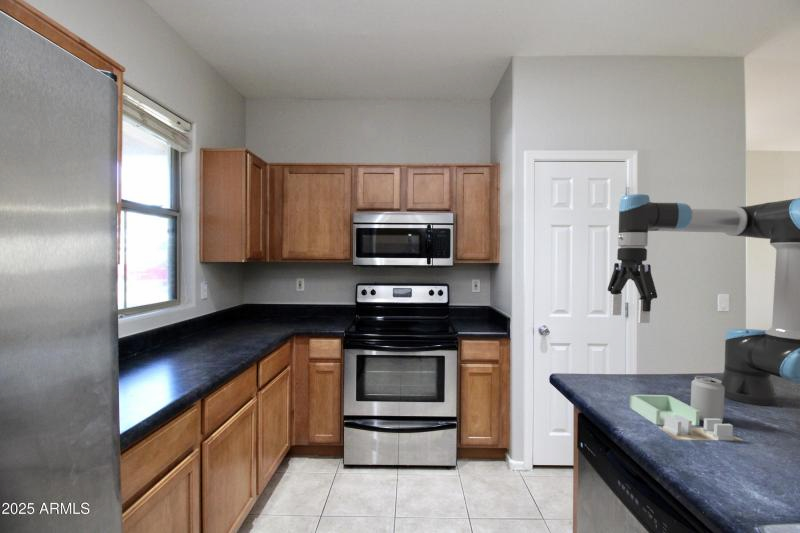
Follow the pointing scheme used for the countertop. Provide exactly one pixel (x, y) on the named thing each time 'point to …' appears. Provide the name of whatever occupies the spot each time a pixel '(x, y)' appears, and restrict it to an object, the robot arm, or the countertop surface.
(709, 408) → the can
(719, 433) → the clip
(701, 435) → the board
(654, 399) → the green open box
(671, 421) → the clip
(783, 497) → the countertop surface
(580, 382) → the countertop surface
